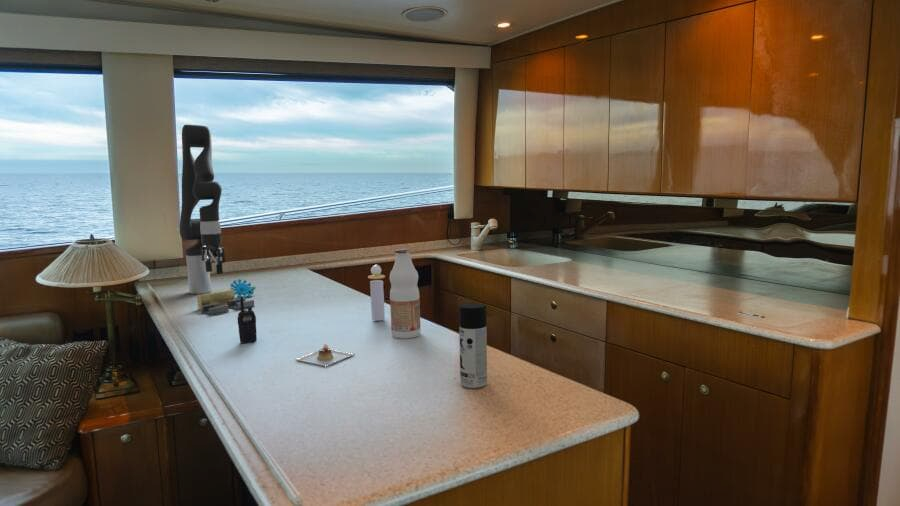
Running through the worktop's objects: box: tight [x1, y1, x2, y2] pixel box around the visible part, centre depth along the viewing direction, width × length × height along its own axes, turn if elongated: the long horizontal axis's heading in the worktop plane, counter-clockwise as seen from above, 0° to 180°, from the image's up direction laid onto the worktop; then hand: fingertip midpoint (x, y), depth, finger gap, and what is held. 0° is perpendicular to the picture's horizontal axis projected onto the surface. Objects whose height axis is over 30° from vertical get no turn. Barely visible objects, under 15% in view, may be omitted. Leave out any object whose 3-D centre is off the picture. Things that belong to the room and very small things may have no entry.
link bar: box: [196, 288, 236, 311], centre depth 241 cm, size 3×14×6 cm, turn 139°
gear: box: [229, 278, 257, 299], centre depth 258 cm, size 11×6×10 cm
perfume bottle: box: [367, 264, 386, 321], centre depth 211 cm, size 6×6×20 cm
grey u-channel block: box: [200, 297, 255, 316], centre depth 235 cm, size 8×18×2 cm, turn 139°
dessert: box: [295, 343, 355, 368], centre depth 171 cm, size 12×12×5 cm
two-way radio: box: [237, 295, 257, 344], centre depth 189 cm, size 6×4×15 cm
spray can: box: [458, 302, 488, 390], centre depth 147 cm, size 7×7×20 cm
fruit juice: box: [389, 247, 422, 340], centre depth 191 cm, size 9×9×28 cm
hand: (214, 272), depth 239 cm, fingers open, 8 cm apart
